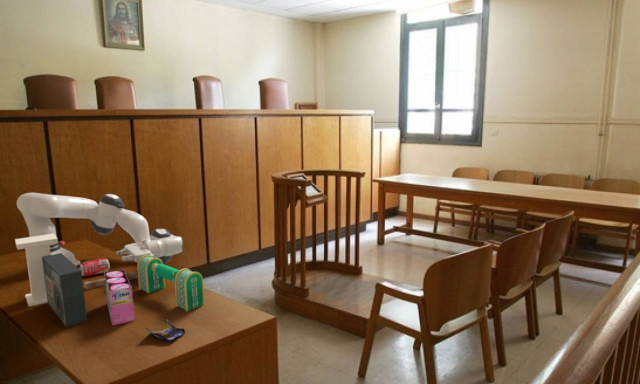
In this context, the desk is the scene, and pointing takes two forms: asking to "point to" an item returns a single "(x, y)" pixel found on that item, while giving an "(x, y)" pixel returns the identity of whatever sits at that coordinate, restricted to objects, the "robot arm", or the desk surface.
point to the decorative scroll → (185, 281)
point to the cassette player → (64, 289)
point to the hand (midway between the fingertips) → (119, 256)
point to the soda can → (94, 267)
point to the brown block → (102, 281)
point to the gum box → (119, 297)
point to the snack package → (169, 332)
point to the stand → (36, 265)
